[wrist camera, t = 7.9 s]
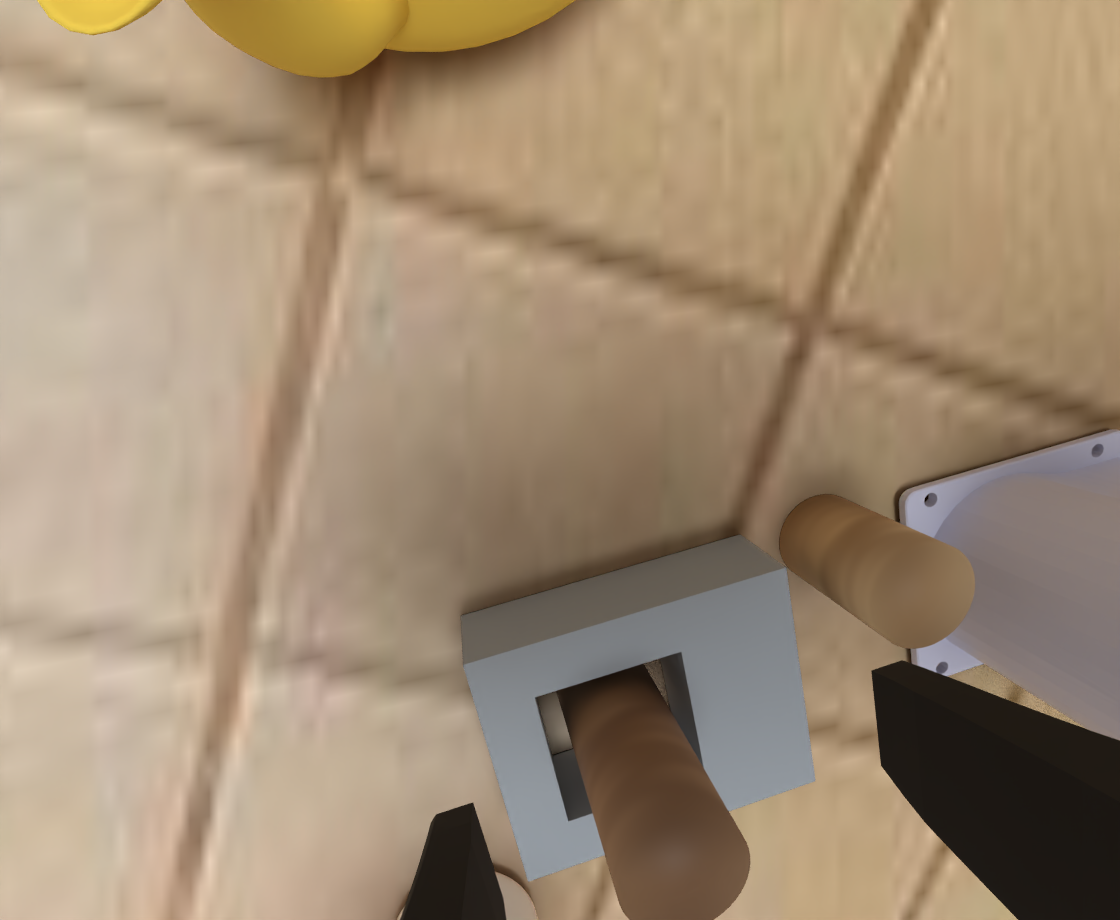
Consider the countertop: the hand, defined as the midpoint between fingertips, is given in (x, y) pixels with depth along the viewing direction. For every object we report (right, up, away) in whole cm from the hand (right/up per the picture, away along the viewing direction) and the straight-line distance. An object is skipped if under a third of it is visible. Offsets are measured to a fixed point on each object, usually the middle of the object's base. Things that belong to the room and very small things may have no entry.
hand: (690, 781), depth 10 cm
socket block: (0, -2, +11) cm, 12 cm away
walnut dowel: (-1, -2, +11) cm, 11 cm away
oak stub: (+7, +3, +12) cm, 14 cm away
